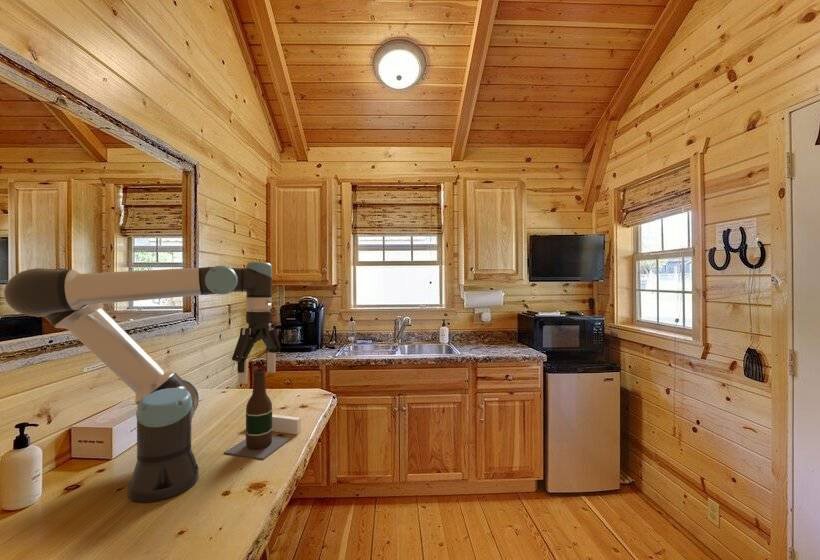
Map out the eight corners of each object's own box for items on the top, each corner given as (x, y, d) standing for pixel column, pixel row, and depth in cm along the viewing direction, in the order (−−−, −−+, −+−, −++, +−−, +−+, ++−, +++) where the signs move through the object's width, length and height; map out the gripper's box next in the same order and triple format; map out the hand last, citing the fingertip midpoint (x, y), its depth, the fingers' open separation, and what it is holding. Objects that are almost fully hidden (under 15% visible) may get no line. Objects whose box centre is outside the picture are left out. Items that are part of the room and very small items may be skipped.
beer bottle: (240, 447, 114) (240, 371, 114) (261, 437, 120) (261, 365, 120) (256, 452, 110) (257, 374, 110) (277, 442, 117) (277, 368, 117)
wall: (297, 434, 124) (297, 419, 124) (248, 427, 129) (248, 413, 129) (300, 432, 126) (300, 417, 126) (251, 425, 131) (251, 412, 131)
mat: (263, 459, 107) (263, 458, 107) (224, 453, 110) (224, 452, 110) (290, 439, 120) (290, 438, 120) (254, 434, 124) (254, 433, 124)
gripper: (241, 314, 102) (239, 389, 102) (291, 308, 126) (290, 368, 126) (219, 313, 104) (217, 387, 104) (273, 307, 128) (272, 367, 128)
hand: (257, 377), depth 115 cm, fingers open, 13 cm apart
